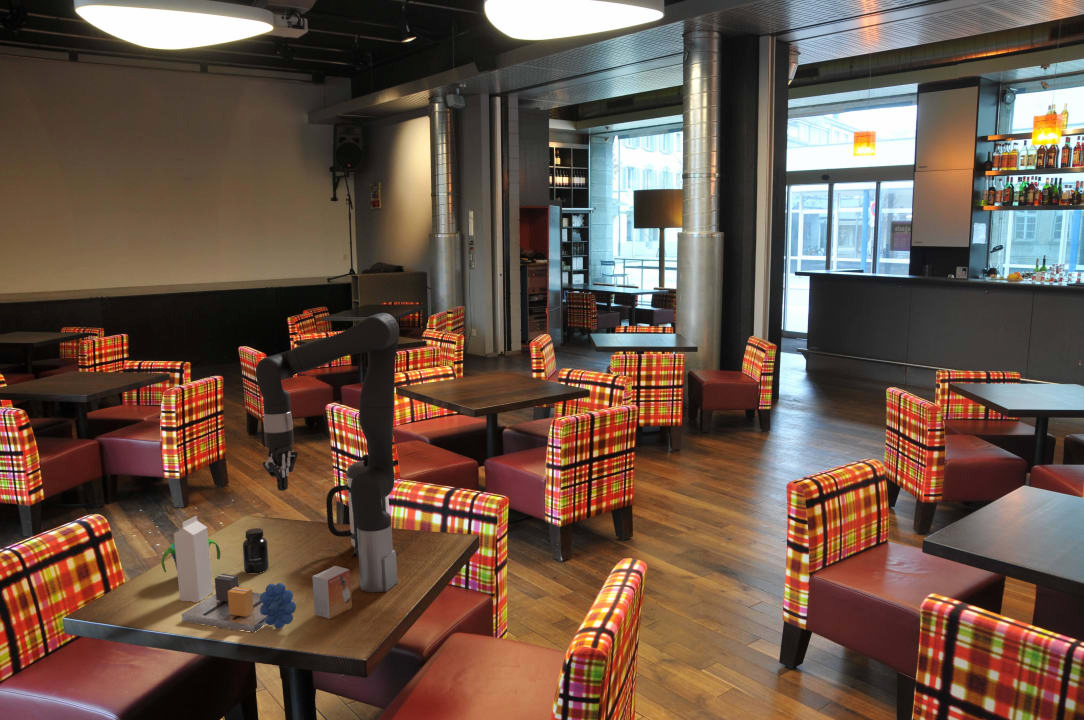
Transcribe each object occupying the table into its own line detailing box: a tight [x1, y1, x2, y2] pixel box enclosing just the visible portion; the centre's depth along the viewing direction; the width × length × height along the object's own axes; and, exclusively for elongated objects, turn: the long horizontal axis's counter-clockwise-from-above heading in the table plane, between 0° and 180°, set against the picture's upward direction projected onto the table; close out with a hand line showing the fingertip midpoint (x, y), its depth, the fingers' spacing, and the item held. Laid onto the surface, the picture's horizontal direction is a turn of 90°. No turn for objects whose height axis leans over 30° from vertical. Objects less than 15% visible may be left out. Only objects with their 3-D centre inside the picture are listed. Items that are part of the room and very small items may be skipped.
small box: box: [311, 565, 353, 620], centre depth 212 cm, size 8×6×10 cm
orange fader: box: [228, 586, 254, 617], centre depth 207 cm, size 5×3×6 cm, turn 71°
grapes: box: [260, 582, 297, 630], centre depth 204 cm, size 12×7×12 cm, turn 61°
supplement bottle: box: [242, 527, 270, 574], centre depth 240 cm, size 7×7×12 cm
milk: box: [173, 515, 214, 603], centre depth 222 cm, size 6×6×22 cm
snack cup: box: [161, 538, 221, 573], centre depth 236 cm, size 16×10×10 cm
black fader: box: [214, 573, 240, 602], centre depth 215 cm, size 5×3×6 cm, turn 71°
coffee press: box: [325, 453, 390, 557], centre depth 252 cm, size 17×16×30 cm
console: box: [181, 591, 295, 633], centre depth 213 cm, size 22×16×2 cm
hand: (283, 489), depth 227 cm, fingers closed
